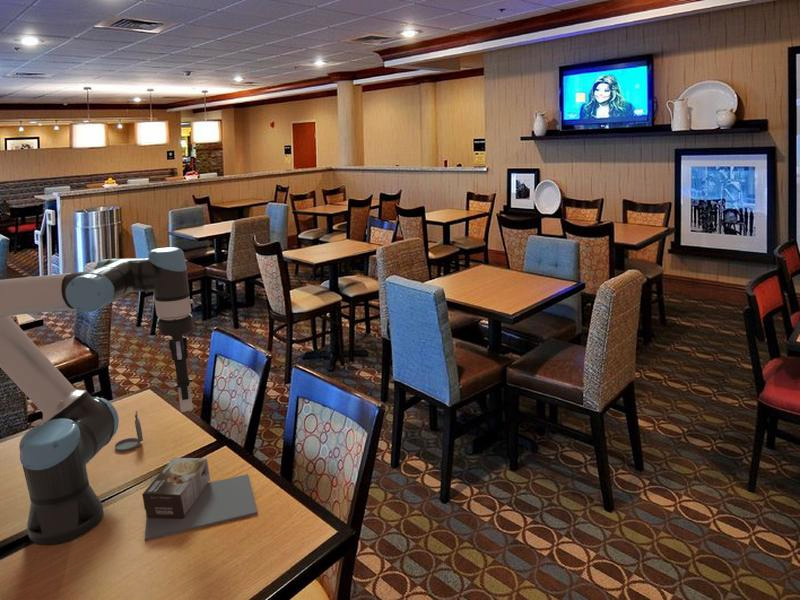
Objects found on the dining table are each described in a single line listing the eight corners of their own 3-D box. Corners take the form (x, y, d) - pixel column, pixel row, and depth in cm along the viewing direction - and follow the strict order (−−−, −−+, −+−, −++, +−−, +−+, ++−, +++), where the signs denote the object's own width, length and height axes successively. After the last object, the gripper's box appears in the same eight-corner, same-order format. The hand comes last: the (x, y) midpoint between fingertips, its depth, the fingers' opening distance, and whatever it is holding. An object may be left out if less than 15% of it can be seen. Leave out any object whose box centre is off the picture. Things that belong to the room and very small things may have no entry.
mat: (145, 541, 130) (144, 538, 130) (147, 498, 146) (147, 495, 145) (257, 514, 138) (257, 511, 138) (248, 476, 154) (248, 474, 153)
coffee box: (176, 479, 152) (144, 518, 137) (172, 457, 150) (140, 493, 135) (211, 480, 151) (183, 519, 136) (208, 457, 150) (179, 494, 134)
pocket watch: (110, 449, 170) (104, 417, 167) (134, 436, 177) (129, 405, 175) (129, 455, 166) (123, 422, 164) (154, 442, 173) (149, 410, 171)
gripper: (193, 321, 133) (204, 418, 139) (190, 306, 145) (201, 396, 151) (156, 325, 130) (170, 424, 136) (157, 310, 142) (170, 402, 148)
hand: (186, 409), depth 144 cm, fingers closed
